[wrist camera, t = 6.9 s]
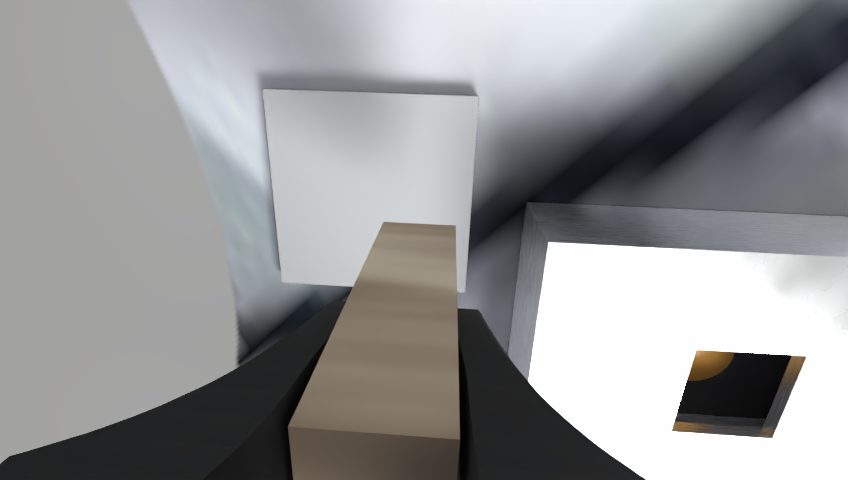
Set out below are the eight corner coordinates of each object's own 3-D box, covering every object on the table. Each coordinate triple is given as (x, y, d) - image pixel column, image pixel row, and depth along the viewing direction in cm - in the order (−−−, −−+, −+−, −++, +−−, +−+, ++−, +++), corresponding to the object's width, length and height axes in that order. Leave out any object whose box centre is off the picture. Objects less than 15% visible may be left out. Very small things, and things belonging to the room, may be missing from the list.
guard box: (800, 430, 23) (887, 519, 19) (501, 409, 24) (512, 490, 19) (895, 218, 19) (1039, 266, 14) (526, 201, 20) (548, 242, 15)
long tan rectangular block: (451, 290, 15) (450, 557, 7) (383, 285, 15) (299, 543, 7) (455, 225, 14) (459, 438, 6) (383, 221, 14) (288, 426, 6)
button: (701, 356, 22) (724, 383, 20) (639, 352, 22) (657, 378, 20) (717, 303, 21) (743, 326, 19) (653, 300, 21) (672, 322, 19)
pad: (464, 287, 22) (465, 292, 21) (286, 277, 22) (282, 282, 21) (478, 96, 18) (479, 96, 18) (268, 88, 19) (262, 89, 18)
